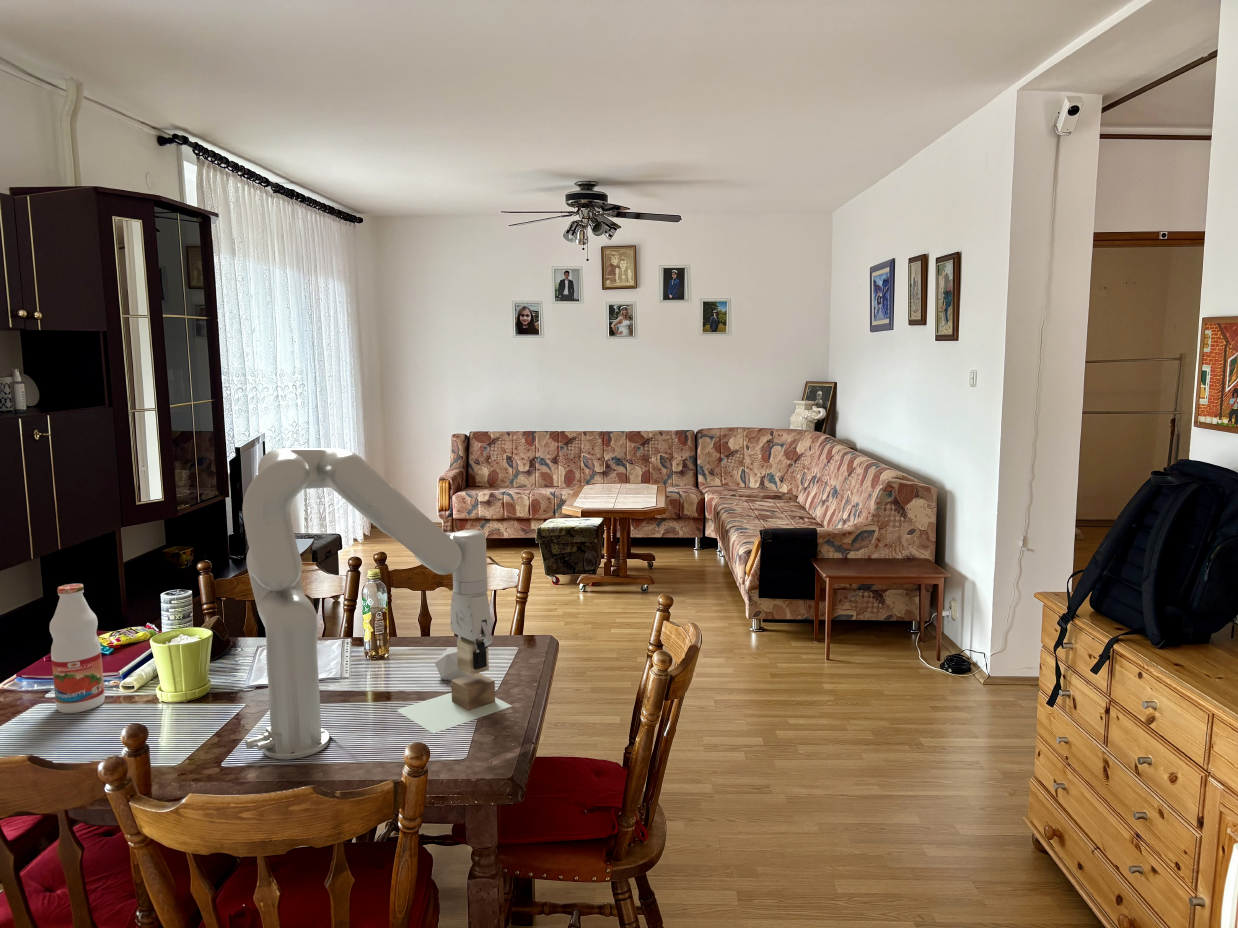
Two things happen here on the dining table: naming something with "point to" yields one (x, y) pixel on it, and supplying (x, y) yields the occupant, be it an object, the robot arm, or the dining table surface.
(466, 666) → the maple block
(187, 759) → the dining table surface
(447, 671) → the die
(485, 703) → the walnut block
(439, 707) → the build board
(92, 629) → the fruit juice
